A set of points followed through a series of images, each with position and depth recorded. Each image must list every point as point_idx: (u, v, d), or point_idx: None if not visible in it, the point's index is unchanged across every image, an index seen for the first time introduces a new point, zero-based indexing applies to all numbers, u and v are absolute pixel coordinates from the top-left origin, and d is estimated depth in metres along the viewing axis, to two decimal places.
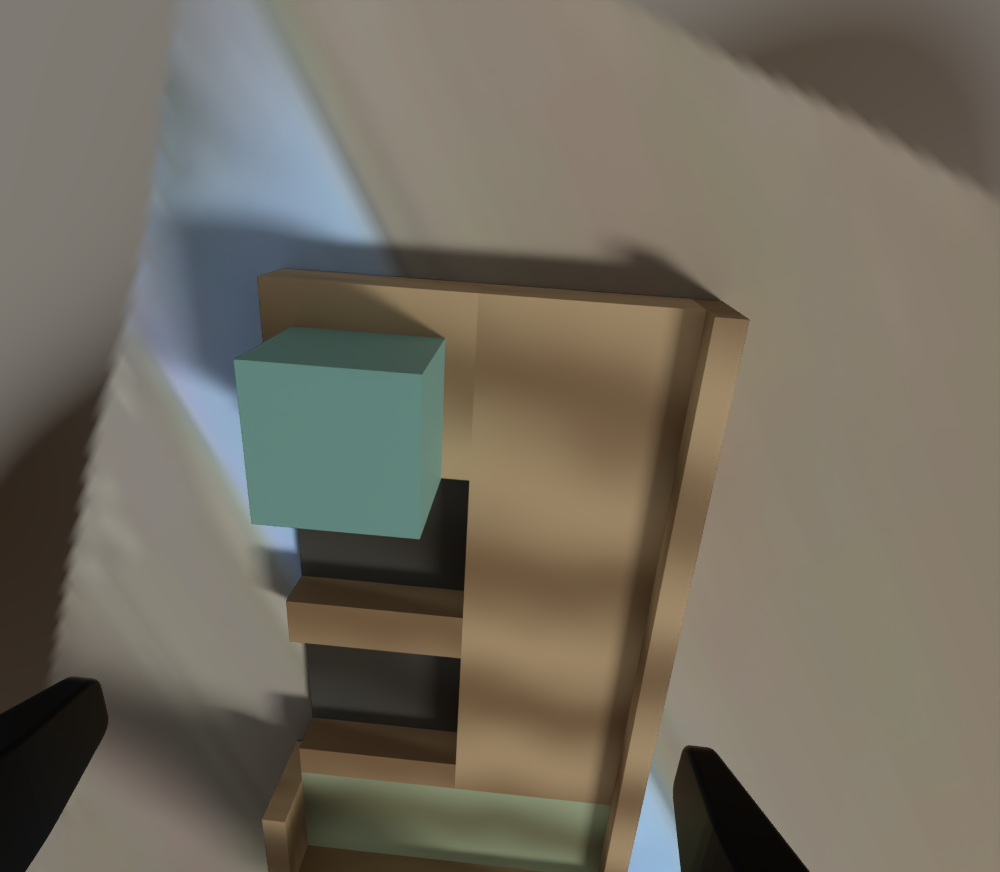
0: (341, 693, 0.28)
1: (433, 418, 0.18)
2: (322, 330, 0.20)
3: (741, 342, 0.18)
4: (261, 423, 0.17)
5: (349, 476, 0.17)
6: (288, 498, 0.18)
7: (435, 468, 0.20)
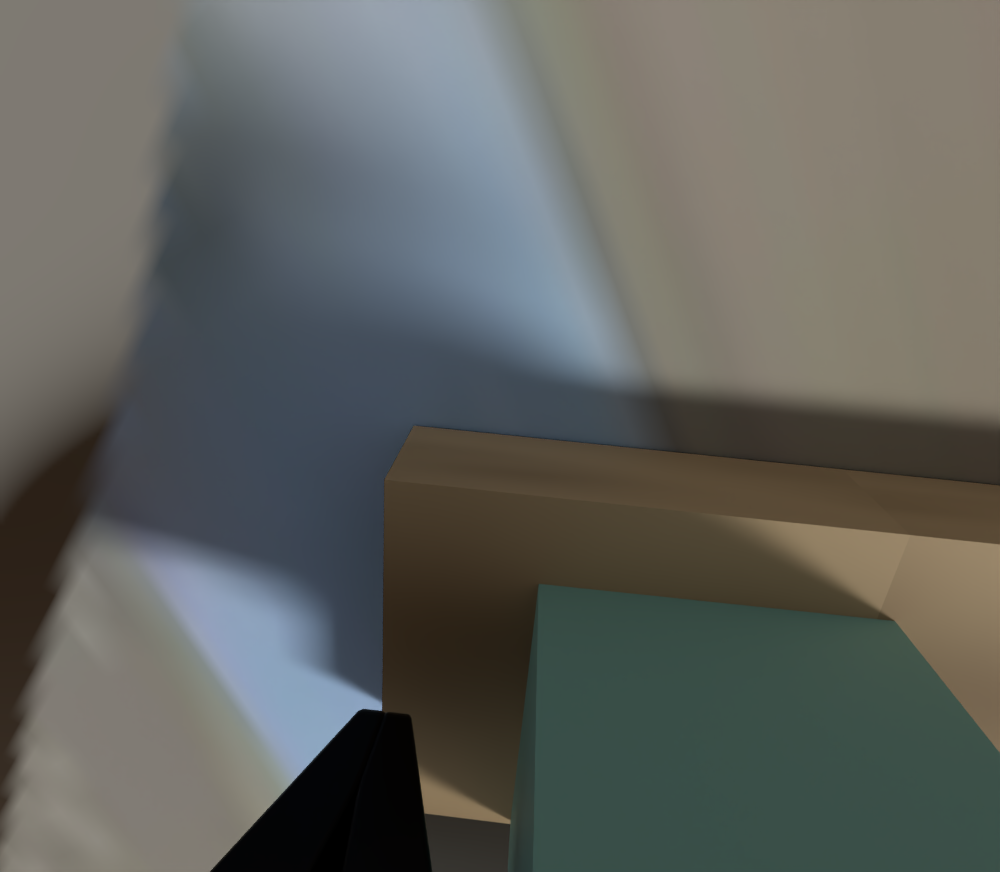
0: None
1: None
2: (616, 601, 0.08)
3: None
4: None
5: None
6: None
7: None
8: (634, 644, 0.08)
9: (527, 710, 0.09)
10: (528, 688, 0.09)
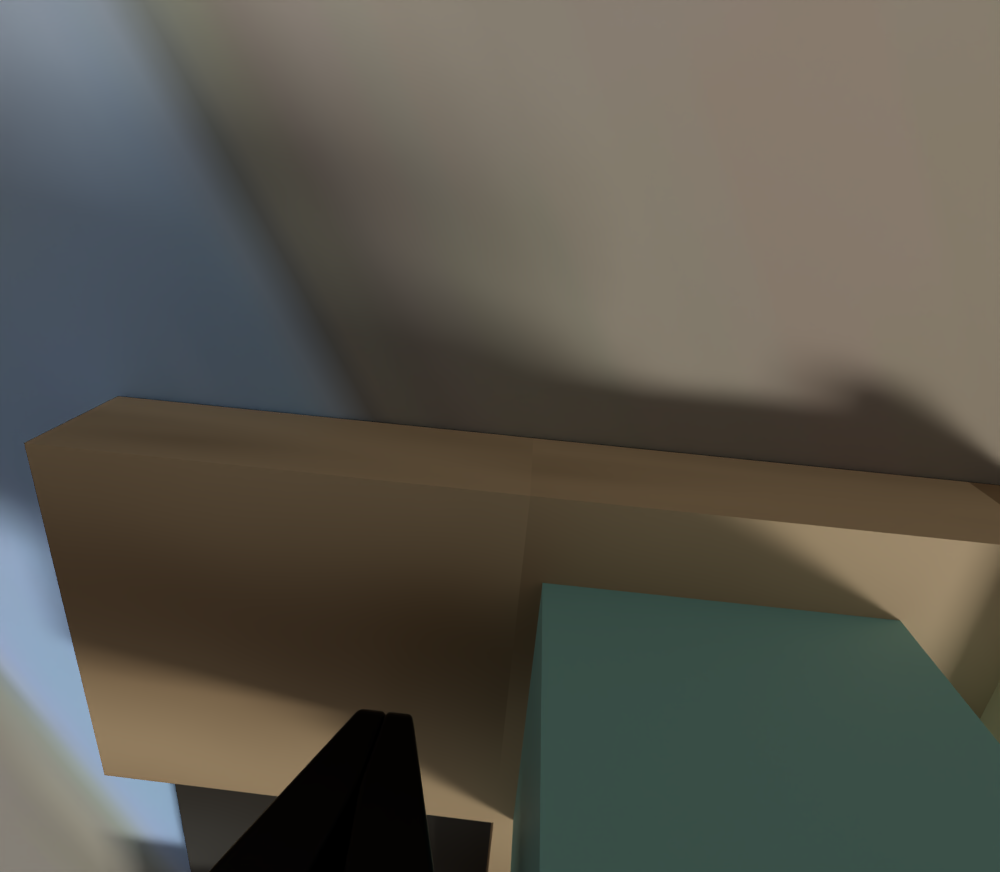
0: None
1: None
2: (620, 600, 0.08)
3: None
4: None
5: None
6: None
7: None
8: (639, 643, 0.08)
9: (531, 709, 0.08)
10: (532, 687, 0.09)
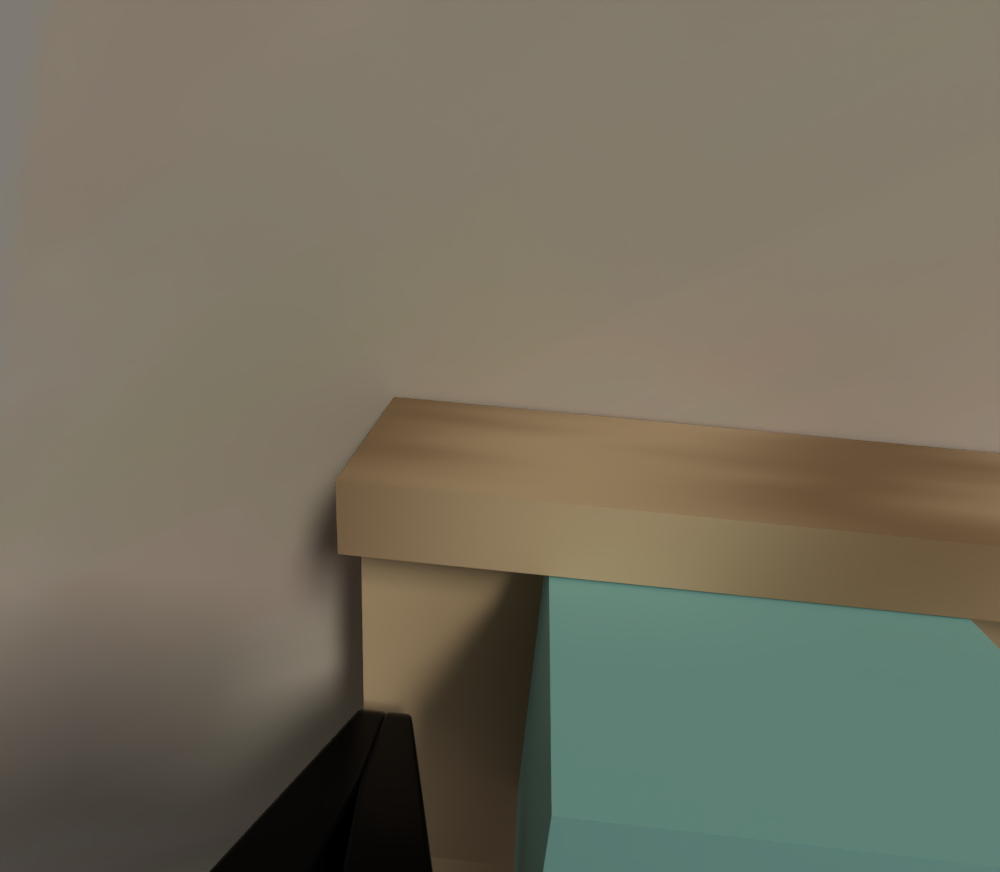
0: None
1: (739, 653, 0.06)
2: (523, 754, 0.10)
3: (394, 491, 0.07)
4: None
5: None
6: None
7: (900, 633, 0.07)
8: (522, 798, 0.09)
9: None
10: None
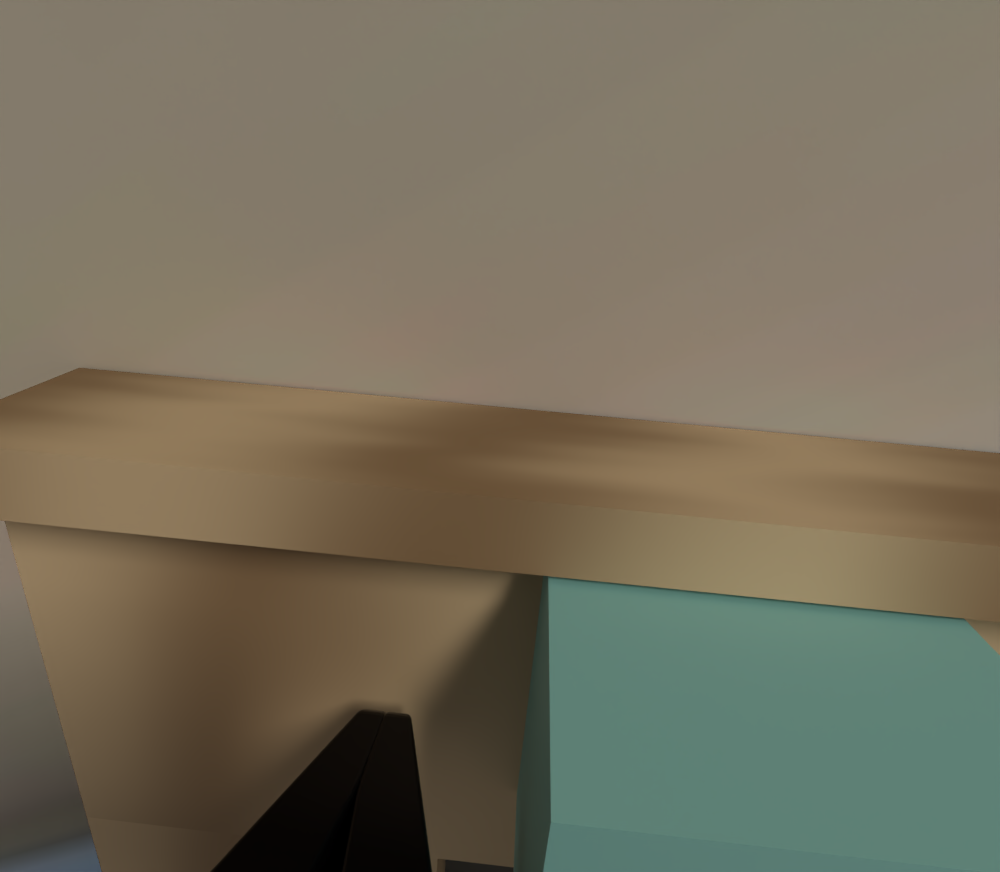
0: None
1: (738, 658, 0.06)
2: (522, 758, 0.10)
3: None
4: None
5: None
6: None
7: (899, 638, 0.07)
8: (521, 801, 0.09)
9: None
10: None
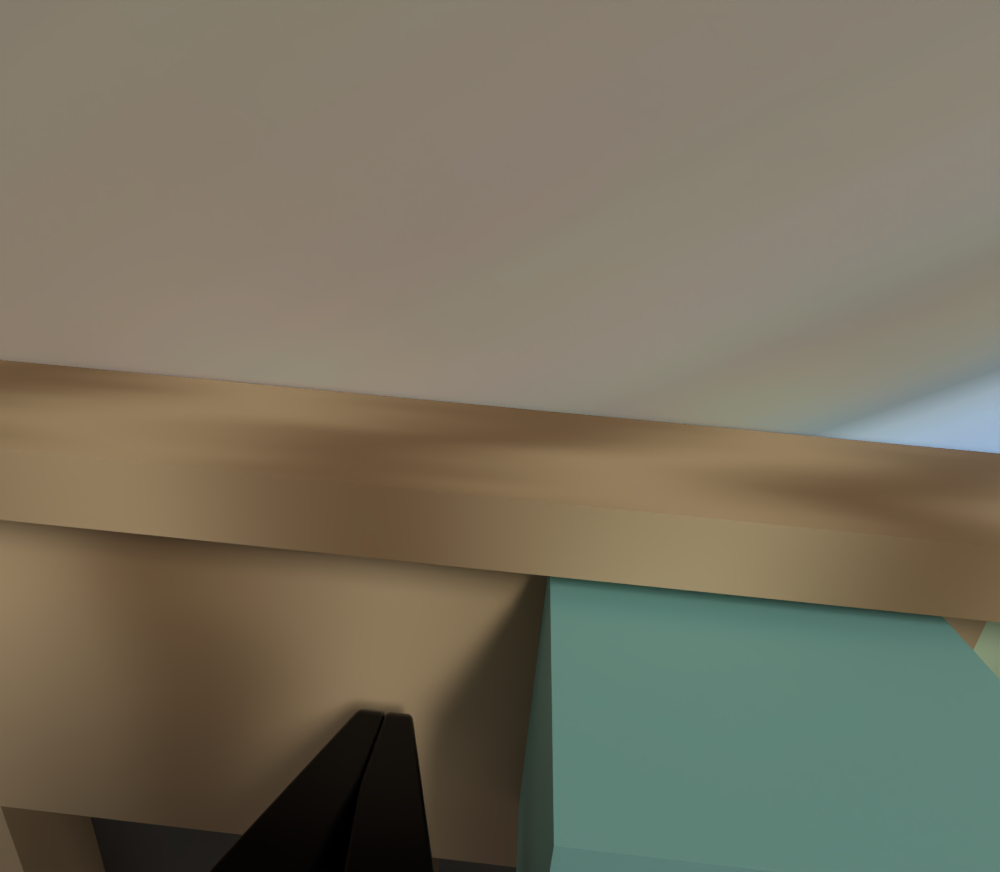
0: None
1: (738, 677, 0.07)
2: (524, 770, 0.10)
3: None
4: None
5: None
6: None
7: (895, 657, 0.07)
8: (523, 814, 0.09)
9: None
10: None
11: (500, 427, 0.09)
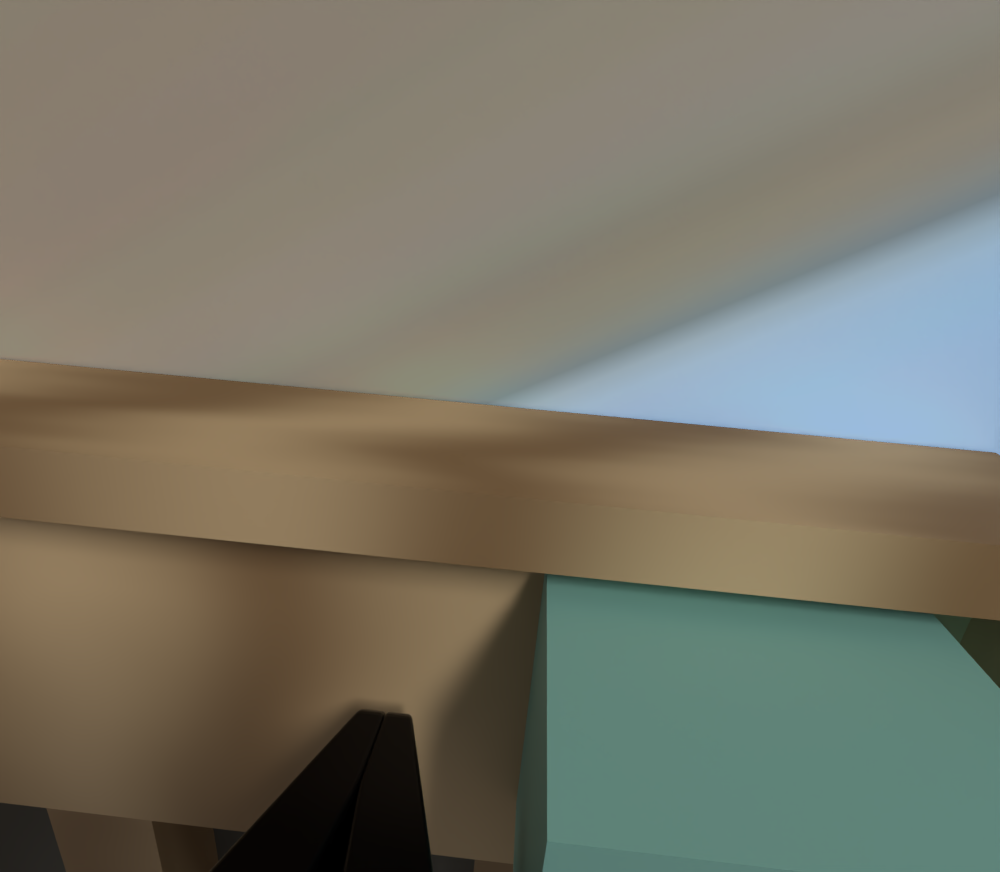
0: None
1: (731, 677, 0.07)
2: (521, 768, 0.10)
3: None
4: None
5: None
6: None
7: (888, 657, 0.07)
8: (520, 811, 0.09)
9: None
10: None
11: (157, 394, 0.09)
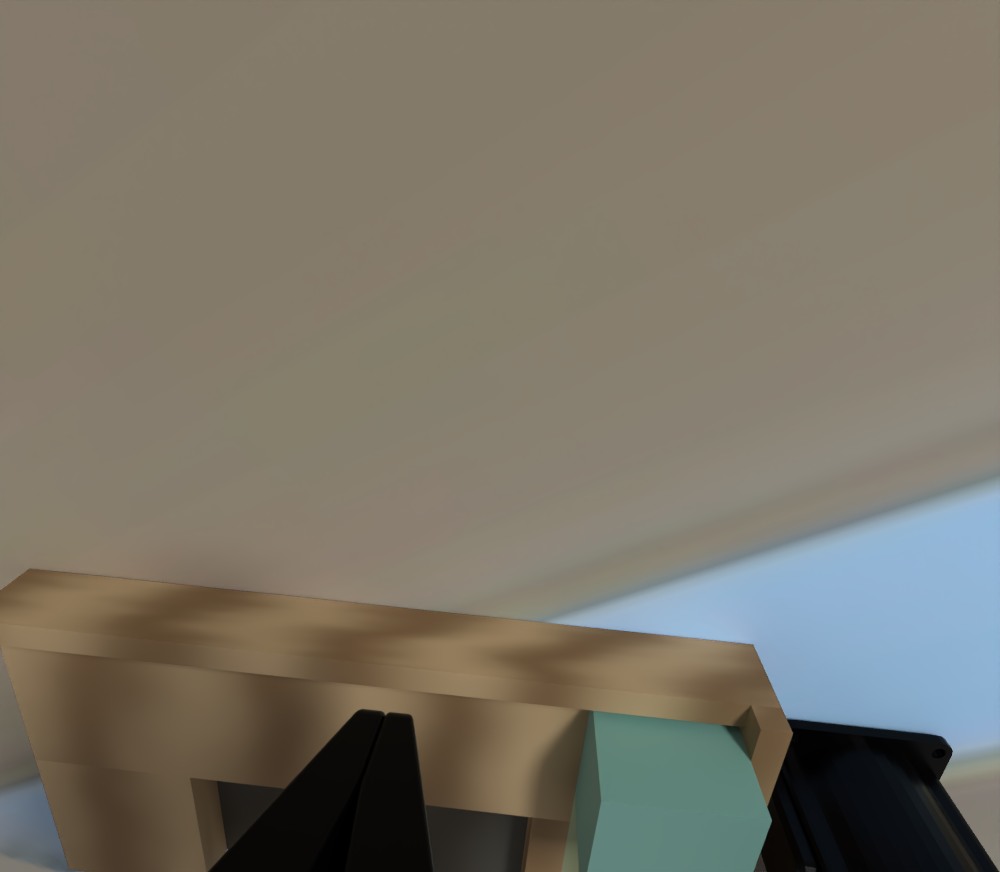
0: (485, 859, 0.28)
1: (657, 750, 0.20)
2: (578, 779, 0.23)
3: None
4: None
5: (695, 858, 0.19)
6: None
7: (713, 741, 0.20)
8: (580, 796, 0.22)
9: None
10: None
11: (407, 624, 0.23)
